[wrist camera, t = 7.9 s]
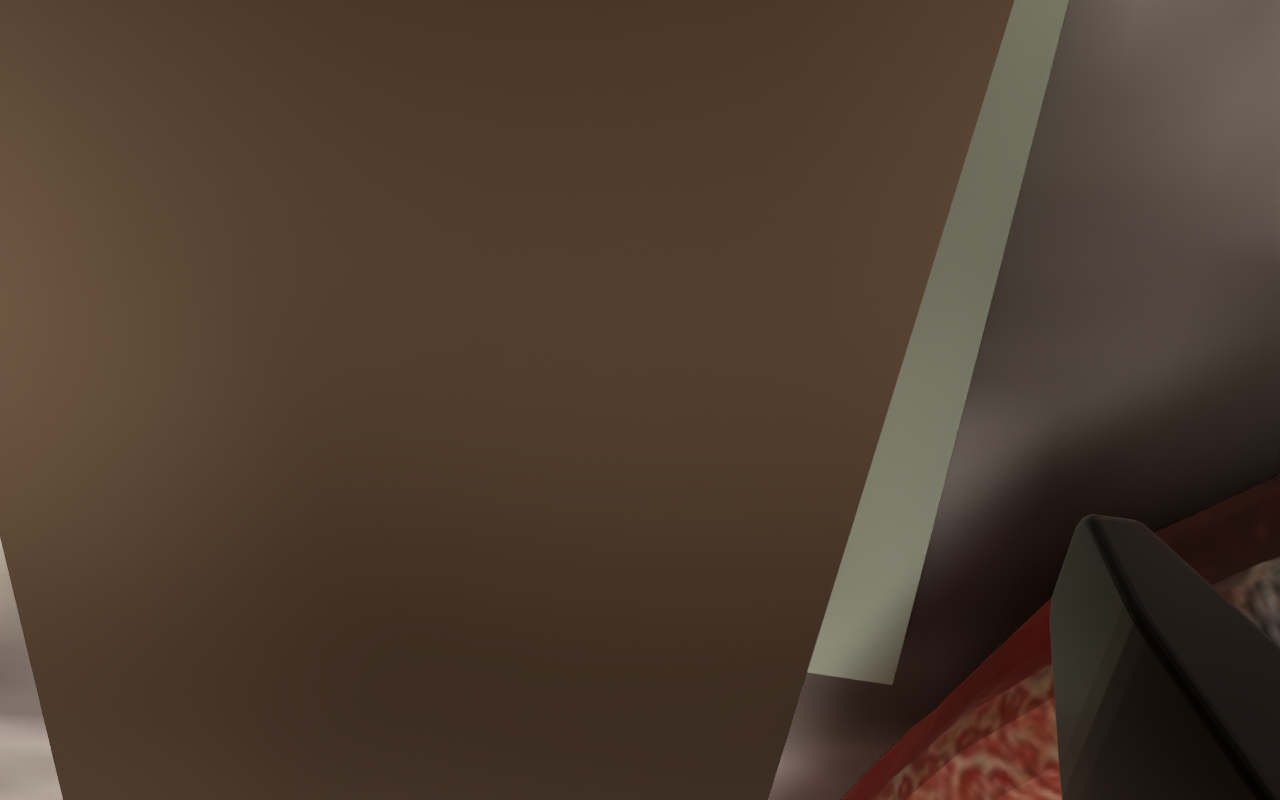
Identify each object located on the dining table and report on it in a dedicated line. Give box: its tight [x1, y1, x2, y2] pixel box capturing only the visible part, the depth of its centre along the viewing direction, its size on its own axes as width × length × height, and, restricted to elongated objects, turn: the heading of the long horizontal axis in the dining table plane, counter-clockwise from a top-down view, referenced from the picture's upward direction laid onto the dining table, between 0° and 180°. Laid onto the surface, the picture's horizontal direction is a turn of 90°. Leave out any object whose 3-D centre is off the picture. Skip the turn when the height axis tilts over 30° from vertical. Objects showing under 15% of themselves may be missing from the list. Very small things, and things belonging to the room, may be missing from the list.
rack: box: [807, 0, 1069, 685], centre depth 13 cm, size 14×9×4 cm, turn 177°
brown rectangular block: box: [0, 0, 1014, 800], centre depth 9 cm, size 12×4×5 cm, turn 173°
